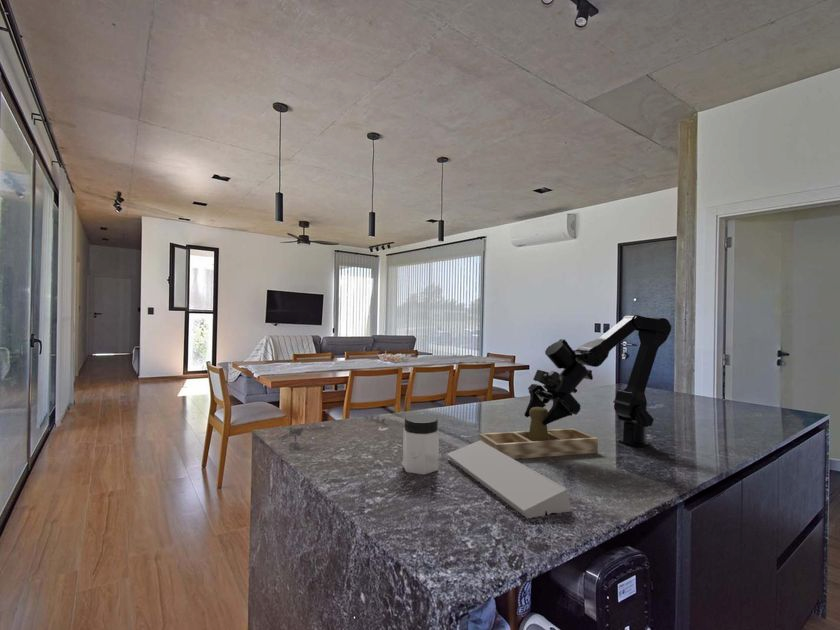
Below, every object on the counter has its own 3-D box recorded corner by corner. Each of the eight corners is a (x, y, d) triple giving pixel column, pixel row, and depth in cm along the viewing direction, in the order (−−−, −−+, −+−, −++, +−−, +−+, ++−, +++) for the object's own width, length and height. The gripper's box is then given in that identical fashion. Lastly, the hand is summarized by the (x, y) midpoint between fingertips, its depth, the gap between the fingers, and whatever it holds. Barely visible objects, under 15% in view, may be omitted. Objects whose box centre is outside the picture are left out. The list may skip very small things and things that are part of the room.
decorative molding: (529, 535, 77) (572, 512, 81) (523, 510, 77) (566, 489, 80) (450, 471, 109) (483, 457, 113) (446, 453, 109) (479, 440, 112)
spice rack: (573, 441, 128) (573, 428, 128) (597, 452, 118) (597, 438, 118) (478, 447, 120) (479, 433, 120) (496, 460, 109) (496, 444, 109)
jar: (396, 471, 100) (398, 420, 100) (408, 460, 108) (409, 413, 108) (433, 476, 97) (434, 424, 97) (442, 465, 105) (443, 416, 105)
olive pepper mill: (531, 442, 123) (532, 404, 123) (552, 446, 120) (552, 407, 120) (524, 447, 118) (524, 407, 118) (545, 451, 115) (546, 410, 115)
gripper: (534, 357, 129) (500, 394, 126) (571, 363, 111) (533, 407, 108) (556, 382, 131) (523, 419, 128) (596, 392, 113) (560, 436, 110)
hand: (533, 419), depth 119 cm, fingers open, 9 cm apart
